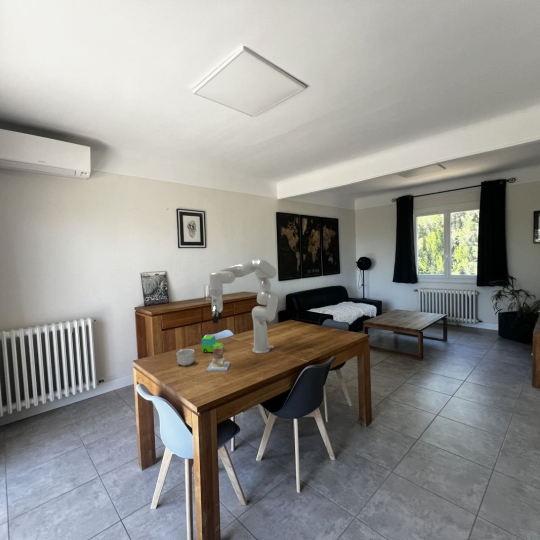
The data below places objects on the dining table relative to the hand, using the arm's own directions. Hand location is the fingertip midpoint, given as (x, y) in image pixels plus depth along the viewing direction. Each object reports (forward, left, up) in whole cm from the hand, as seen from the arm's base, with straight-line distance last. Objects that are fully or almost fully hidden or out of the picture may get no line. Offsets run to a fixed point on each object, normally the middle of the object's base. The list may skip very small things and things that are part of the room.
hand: (217, 321), depth 169 cm
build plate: (0, 0, -28) cm, 28 cm away
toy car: (+10, -30, -29) cm, 43 cm away
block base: (0, 0, -27) cm, 27 cm away
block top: (0, 0, -22) cm, 22 cm away
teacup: (+23, -8, -29) cm, 38 cm away
